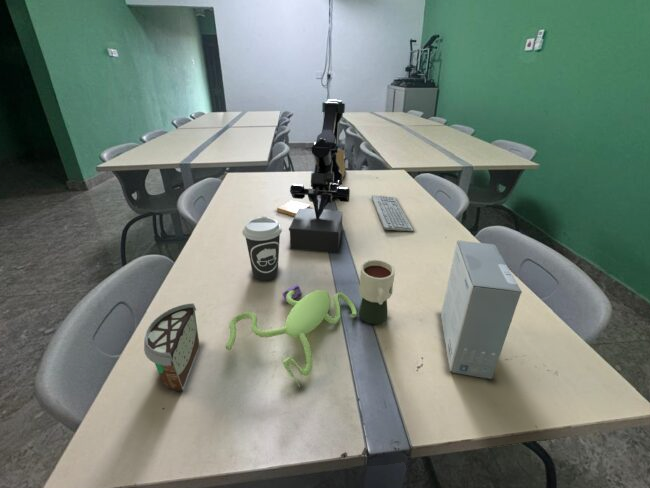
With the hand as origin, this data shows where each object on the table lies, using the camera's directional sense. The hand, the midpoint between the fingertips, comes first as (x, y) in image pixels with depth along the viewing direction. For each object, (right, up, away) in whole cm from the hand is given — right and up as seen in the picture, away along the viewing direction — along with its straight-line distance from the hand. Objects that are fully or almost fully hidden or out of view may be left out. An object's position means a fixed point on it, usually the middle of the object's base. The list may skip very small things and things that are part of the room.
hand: (317, 218), depth 98 cm
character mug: (+14, -22, -27) cm, 37 cm away
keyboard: (+27, +1, +24) cm, 36 cm away
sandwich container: (+6, +20, +65) cm, 68 cm away
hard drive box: (+32, -25, -33) cm, 52 cm away
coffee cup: (-13, -15, -14) cm, 24 cm away
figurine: (-3, -23, -32) cm, 39 cm away
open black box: (0, -7, +4) cm, 8 cm away
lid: (0, -1, 0) cm, 1 cm away
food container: (-24, -26, -40) cm, 54 cm away
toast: (-11, +2, +24) cm, 26 cm away
